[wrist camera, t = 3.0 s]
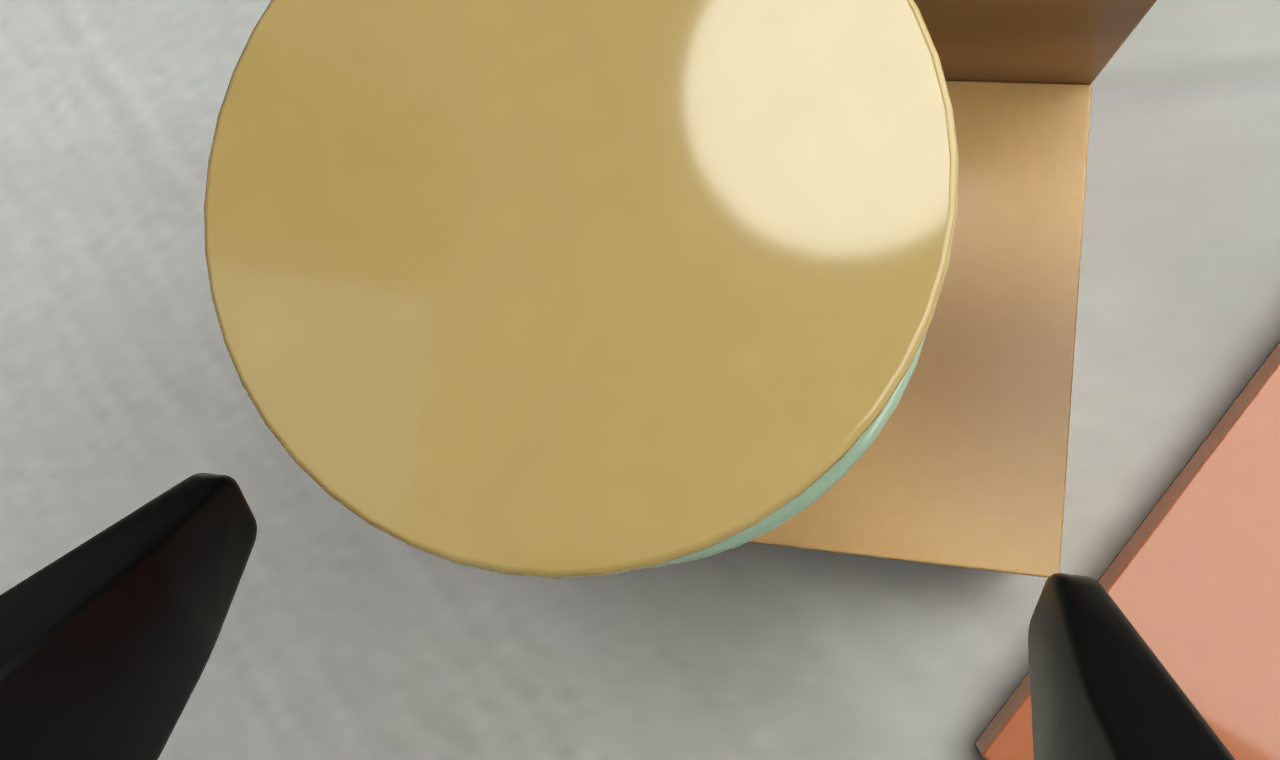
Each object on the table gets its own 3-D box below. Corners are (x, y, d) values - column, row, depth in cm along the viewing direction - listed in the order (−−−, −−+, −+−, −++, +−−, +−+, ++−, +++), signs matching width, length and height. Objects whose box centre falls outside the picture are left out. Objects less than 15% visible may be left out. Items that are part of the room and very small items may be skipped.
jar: (634, 557, 18) (329, 738, 6) (526, 295, 19) (81, 17, 7) (909, 441, 18) (1159, 397, 6) (784, 175, 18) (767, -358, 6)
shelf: (1020, 562, 20) (1203, 642, 11) (429, 492, 22) (190, 513, 13) (1052, 104, 21) (1246, -166, 12) (477, 86, 23) (282, -147, 14)
